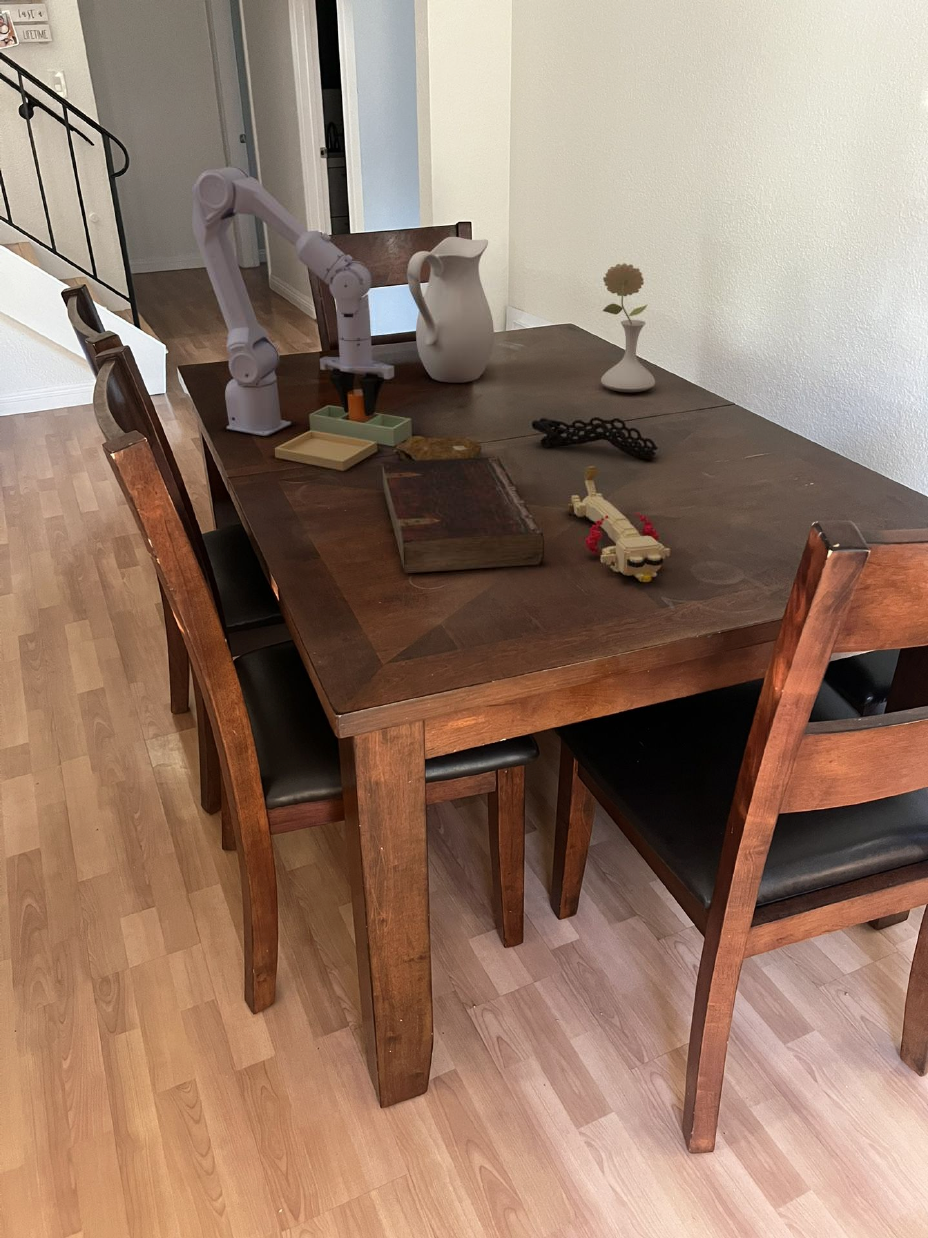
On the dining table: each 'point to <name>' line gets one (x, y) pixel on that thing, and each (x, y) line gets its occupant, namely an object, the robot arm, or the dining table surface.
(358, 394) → the orange cylinder
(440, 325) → the pitcher
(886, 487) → the dining table surface
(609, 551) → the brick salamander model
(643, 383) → the flower in vase
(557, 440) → the decorative element
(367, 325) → the robot arm
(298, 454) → the birch tray
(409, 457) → the decorative rock
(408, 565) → the hardback book
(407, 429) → the green compartment tray
